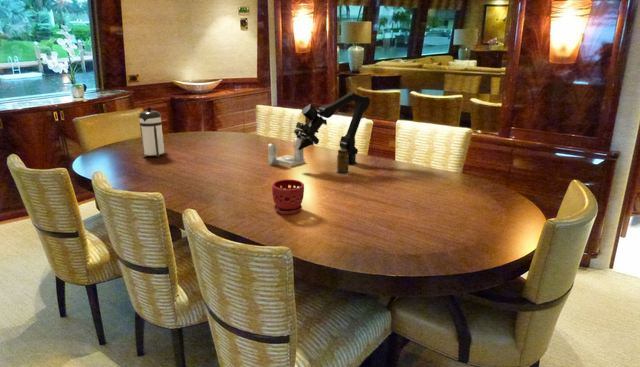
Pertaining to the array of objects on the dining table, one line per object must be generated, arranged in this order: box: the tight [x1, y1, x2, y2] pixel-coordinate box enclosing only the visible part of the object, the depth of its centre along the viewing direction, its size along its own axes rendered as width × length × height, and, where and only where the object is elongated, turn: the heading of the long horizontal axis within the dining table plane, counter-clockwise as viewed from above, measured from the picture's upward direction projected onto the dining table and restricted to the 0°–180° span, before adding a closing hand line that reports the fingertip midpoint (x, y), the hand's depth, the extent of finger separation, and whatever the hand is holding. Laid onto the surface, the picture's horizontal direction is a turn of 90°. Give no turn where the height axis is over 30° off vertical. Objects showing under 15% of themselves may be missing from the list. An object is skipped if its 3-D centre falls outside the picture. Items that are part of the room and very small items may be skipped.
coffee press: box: [138, 106, 167, 159], centre depth 281 cm, size 17×16×30 cm
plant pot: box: [271, 179, 305, 215], centre depth 193 cm, size 13×13×12 cm
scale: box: [277, 154, 306, 168], centre depth 268 cm, size 14×12×3 cm
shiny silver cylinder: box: [293, 137, 305, 162], centre depth 247 cm, size 5×5×12 cm
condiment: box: [333, 148, 353, 175], centre depth 248 cm, size 7×8×12 cm
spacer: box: [267, 142, 278, 167], centre depth 263 cm, size 5×5×12 cm
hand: (296, 148), depth 247 cm, fingers closed on shiny silver cylinder, 5 cm apart
